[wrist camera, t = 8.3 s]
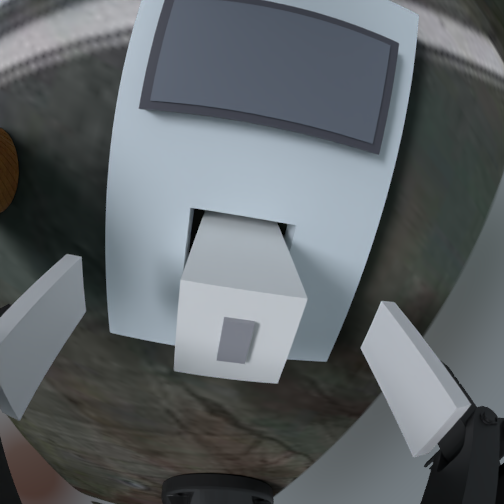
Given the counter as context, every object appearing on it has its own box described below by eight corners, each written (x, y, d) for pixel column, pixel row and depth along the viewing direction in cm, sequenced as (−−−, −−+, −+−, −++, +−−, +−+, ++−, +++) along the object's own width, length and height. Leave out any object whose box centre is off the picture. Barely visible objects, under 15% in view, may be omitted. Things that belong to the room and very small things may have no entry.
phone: (371, 153, 13) (379, 155, 13) (144, 109, 12) (137, 108, 11) (391, 46, 11) (400, 42, 10) (171, -2, 10) (166, -10, 9)
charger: (261, 284, 18) (278, 387, 11) (196, 274, 18) (172, 374, 10) (276, 222, 17) (309, 302, 9) (205, 209, 16) (179, 282, 9)
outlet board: (319, 342, 20) (326, 361, 19) (119, 314, 19) (109, 332, 17) (402, 23, 12) (418, 14, 10) (165, -29, 10) (158, -44, 9)
